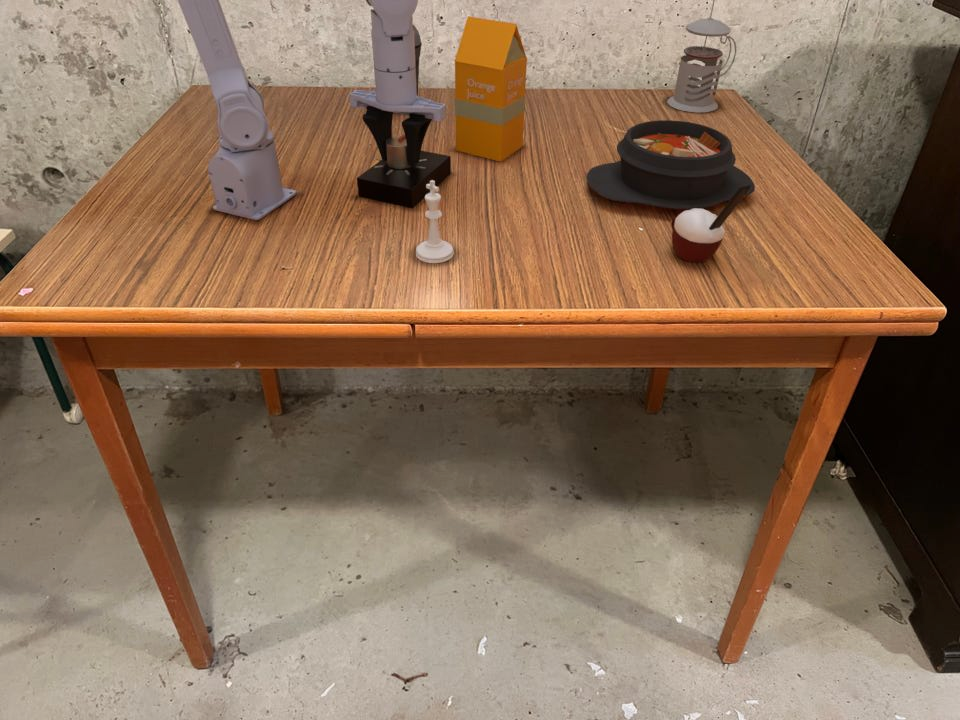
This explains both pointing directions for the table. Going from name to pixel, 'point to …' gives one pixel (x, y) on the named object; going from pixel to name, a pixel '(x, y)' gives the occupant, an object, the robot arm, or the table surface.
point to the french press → (700, 69)
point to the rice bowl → (702, 230)
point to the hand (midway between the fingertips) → (400, 160)
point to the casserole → (671, 167)
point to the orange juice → (490, 89)
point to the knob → (397, 152)
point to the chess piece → (434, 232)
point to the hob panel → (404, 180)
